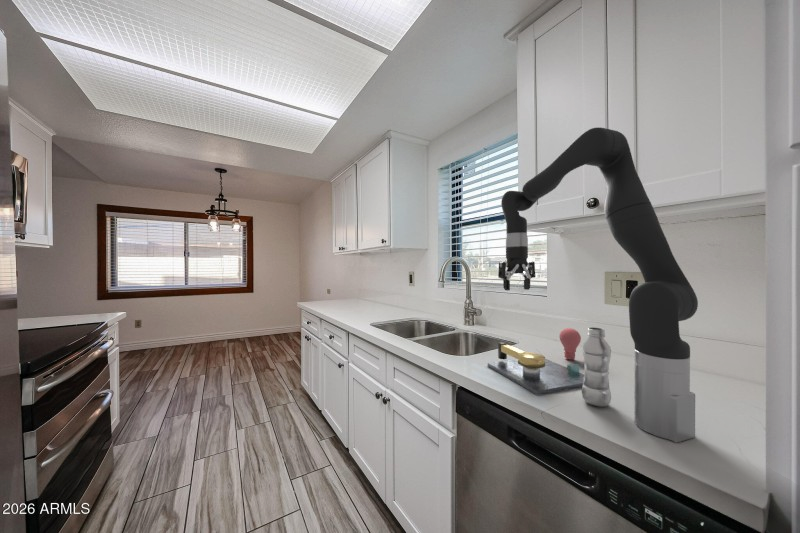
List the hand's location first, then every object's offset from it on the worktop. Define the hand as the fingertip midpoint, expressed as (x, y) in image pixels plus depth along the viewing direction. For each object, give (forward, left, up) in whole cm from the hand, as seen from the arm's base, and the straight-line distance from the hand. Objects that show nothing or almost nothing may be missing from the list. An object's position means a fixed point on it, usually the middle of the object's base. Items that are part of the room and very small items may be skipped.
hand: (517, 289), depth 106 cm
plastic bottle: (-31, +1, -28) cm, 42 cm away
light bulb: (-2, -22, -28) cm, 36 cm away
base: (-10, 0, -28) cm, 29 cm away
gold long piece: (-7, +6, -25) cm, 27 cm away
